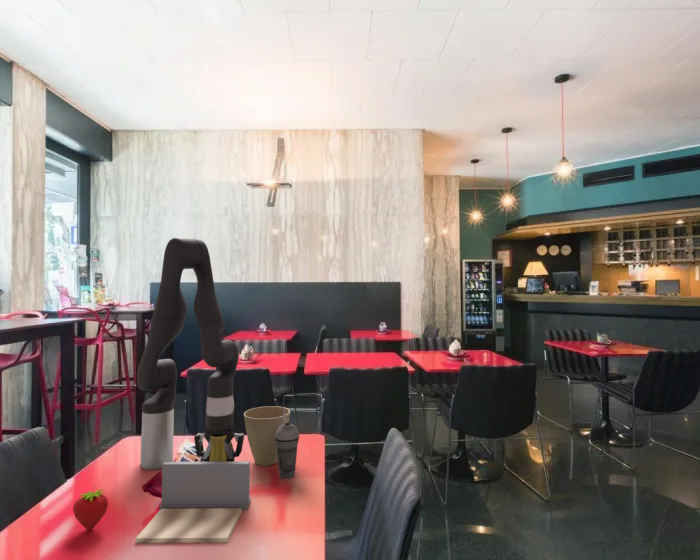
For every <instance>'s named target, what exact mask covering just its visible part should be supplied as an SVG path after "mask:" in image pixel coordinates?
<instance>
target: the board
mask: <svg viewBox="0 0 700 560" xmlns="http://www.w3.org/2000/svg"><path fill="white" fill-rule="evenodd" d="M241 509H242V508H214V509H161V510H160V511H159V510H158V512H157V513H156V514H155V515H154V516H153V518H152V519H151V520H150V521H149V522H148V524H147V525H145V527H144V528H143V529H142V531H140V533H139V534H138V535H137V536H136V537H135V544H167V543H169V544H175V543H176V544H178V543H179V544H180V543H181V544H184V543H185V544H187V543H189V544H192V543H204V544H205V543H228V542H229V539H230V538H231V535H232V534H233V531H234V529H235V527H236V525H237V523H238V520H239V518H240V516H241V514H242V510H241Z"/></svg>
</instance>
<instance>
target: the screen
mask: <svg viewBox="0 0 700 560" xmlns="http://www.w3.org/2000/svg"><path fill="white" fill-rule="evenodd" d="M250 468H251V461H234V462H204V461H173V462H164V463H163V464H162V468H161V470H162V471H161V504H160V505H159V506H158V512H159V511H160V510H161V509H214V508H242V509H241V511H248V508H249V506H250V504H251V502H252V501H251V497H250V493H251V492H250V483H251V482H250V477H251V475H250V474H251V473H250V472H251V471H250V470H251V469H250Z"/></svg>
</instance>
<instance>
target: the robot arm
mask: <svg viewBox="0 0 700 560" xmlns="http://www.w3.org/2000/svg"><path fill="white" fill-rule="evenodd" d="M191 269H192V270H193V271H194V274H195V276H196V281H197V282H196V283H197V285H196V291H195V297H194V300H193V311H194V316H195V320H196V322H197V325H198V329H199V331H200V332H199V333H200V353H201V356H202V359H203V361H204V362H205V364H206V365H207V366H208V367H211V368H215V371H214V372H213V373H212V374H211V375H210V376H209V377H208V378H207V379H208V380H207V393H206V395H207V397H206V404H205V405H206V406H205V407H206V408H205V409H206V410H205V412H206V413H205V431H204V433H201V432H198V433H197V434H196V435H195V436H193V439H194V445H195V452H196V457H198V458H199V457H200V458H202V459H203V462H209V455H210V450H211V439H210V435H211V436H213V437H221V436H225V435H227V437H226V440H225V438H223V442H224V450H225V452H226V453H227V455H228V457H229V459H228V462H235V458H238V457H240V456H241V454H242V451H243V446H244V440H245V433H244V432H241V433H236V432H235V429H234V422H235V421H234V416H235V414H234V413H235V411H234V410H235V400H234V377H235V374H236V371H237V366H238V363H239V354H240V352H239V348H238V345H237V344H236V343H235V341H234V340H230V339H223V340H221V332H223V331H224V330H225V328H226V324H225V320H224V318H223V314H222V311H221V308H220V305H219V302H218V297H217V295H216V289H215V282H214V275H213V274H214V273H213V269H212V263H211V256H210V252H209V249H208V245H207V244H206V243H205V241H203V240H202V239H201V238H196V237H195V238H193V237H173V238H171V239H170V240H169V241H168V242H167V244H166V246H165V249H164V254H163V260H162V269H161V276H160V283H159V284H160V285H159V289H158V294H157V297H156V303H155V305H154V310H153V313H152V317H151V324H150V329H149V332H148V337H147V340H146V343H145V344H146V345H145V348H144V350H143V353H142V356H141V359H140V362H139V365H138V368H137V373H136V383H137V387H138V389H140V390H141V391H145V392H146V391H147V392H148V391H154V390H158V391H157V392H156V394H154V395H152V396H151V397H150V398H148V399H147V400H145V401H144V402H143V403H142V405H141V411H142V412H141V433H140V467H141V469H143V470H147V471H151V470H154V471H155V470H160V469H162V464H163V463H164V462H174V427H175V426H174V425H175V424H174V423H175V421H174V419H175V418H174V417H175V416H174V415H175V411H174V410H175V407H174V406H175V401H176V395H177V393H176V392H177V379H178V369H177V365H176V362H175V361H174V360H173V359H171V358H164V359H162V358H161V359H160V357H161V356H162V354H163V353H164V351H165V350H166V349H167V347H169V346H170V344H171V343H172V342H173V341H175V339H177V337H178V336H179V335H180V333H181V332H182V330H183V328H184V326H185V322H186V317H187V313H188V305H187V302H186V299H185V296H184V294H183V292H182V290H181V279H182V275H183V273H184V272H183V271H184V270H191ZM204 439H205V441H207V443H208V444H207V445H206V446H207V447H206V448H205V449H204V444H203V441H204ZM233 439H235V442H236V448H235V449H234V446H233V443H232V440H233ZM228 444H229V446H228Z"/></svg>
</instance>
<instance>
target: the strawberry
mask: <svg viewBox="0 0 700 560" xmlns="http://www.w3.org/2000/svg"><path fill="white" fill-rule="evenodd" d="M95 487H96V484H94V485H93V490H92V491H87V493H80V494H79V496H81V497H79V498H78V499H77V500H76V501H75V502H74V504H73V507H72V511H73V515H74V517H75V519H76V520H77V521H78V523H80V525H81V526H82V527H84V528H85V530H86V531H92V530H93V529H94V528H95V527H96V525H98V523H99V522H101V520H102V518H103V517H104V515H105V513H106V512H107V509H108V505H109V499H108V497H106V496H105V494H106V492H102V491H104V488H101V489H98V490H95Z"/></svg>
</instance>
